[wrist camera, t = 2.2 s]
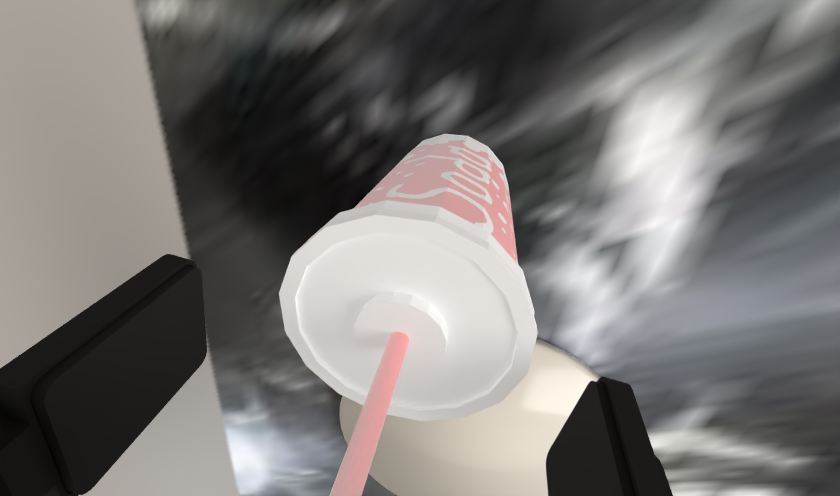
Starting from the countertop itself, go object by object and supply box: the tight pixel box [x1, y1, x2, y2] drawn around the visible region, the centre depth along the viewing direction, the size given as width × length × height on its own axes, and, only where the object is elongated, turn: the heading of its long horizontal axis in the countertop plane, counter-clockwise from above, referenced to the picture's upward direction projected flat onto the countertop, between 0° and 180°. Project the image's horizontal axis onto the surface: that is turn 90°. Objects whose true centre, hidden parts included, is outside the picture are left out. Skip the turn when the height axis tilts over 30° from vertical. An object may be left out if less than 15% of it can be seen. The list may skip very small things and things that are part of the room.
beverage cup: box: [279, 134, 537, 496], centre depth 12 cm, size 6×6×14 cm
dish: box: [339, 339, 601, 496], centre depth 24 cm, size 16×16×1 cm
